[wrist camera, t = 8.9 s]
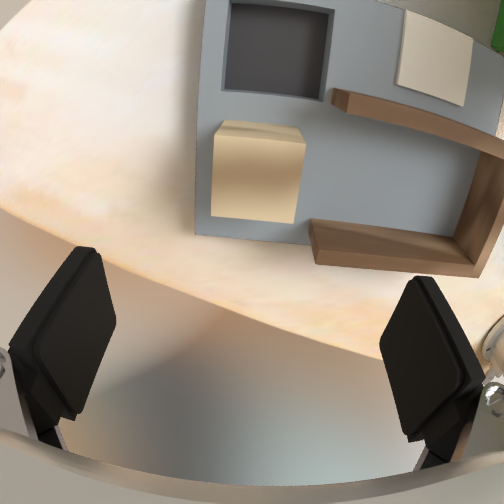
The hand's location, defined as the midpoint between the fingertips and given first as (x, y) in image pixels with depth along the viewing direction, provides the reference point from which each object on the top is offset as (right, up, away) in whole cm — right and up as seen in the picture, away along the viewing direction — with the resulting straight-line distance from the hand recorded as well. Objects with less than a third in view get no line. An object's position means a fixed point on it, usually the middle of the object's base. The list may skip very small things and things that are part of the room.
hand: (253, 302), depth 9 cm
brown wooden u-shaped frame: (+12, +7, +13) cm, 19 cm away
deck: (+8, +11, +13) cm, 19 cm away
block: (0, +8, +13) cm, 15 cm away
